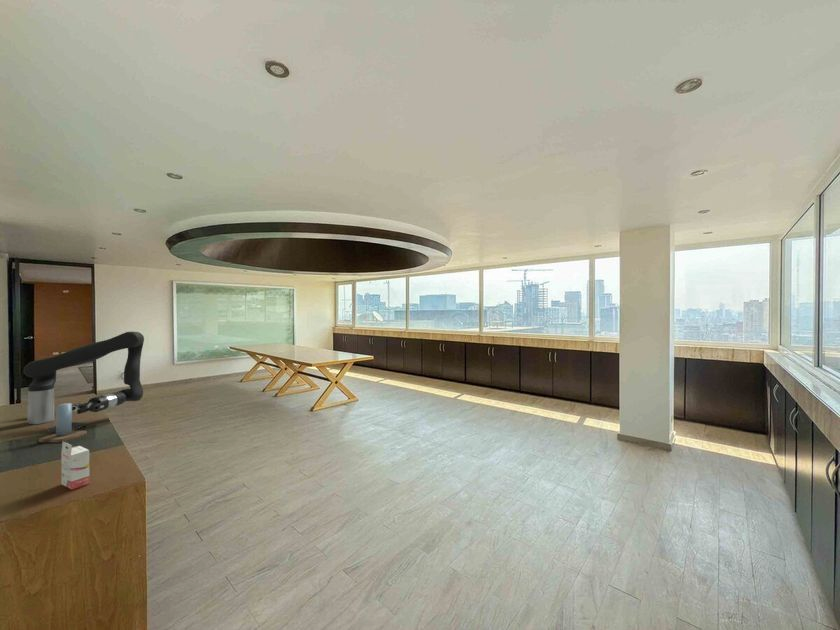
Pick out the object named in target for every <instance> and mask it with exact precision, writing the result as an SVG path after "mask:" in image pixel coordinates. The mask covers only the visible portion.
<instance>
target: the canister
mask: <svg viewBox="0 0 840 630" xmlns="http://www.w3.org/2000/svg"><path fill="white" fill-rule="evenodd" d="M72 405H73V403H72V402H68V403H67V402H65V403H60V404H56V409H55V410H56V413H55V414H56V415H55V416H56V419H55V420H56V423H55V426H56V432H55V433H56V436H65V435H69V434H71V433H72V422H73V411H72Z"/></svg>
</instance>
